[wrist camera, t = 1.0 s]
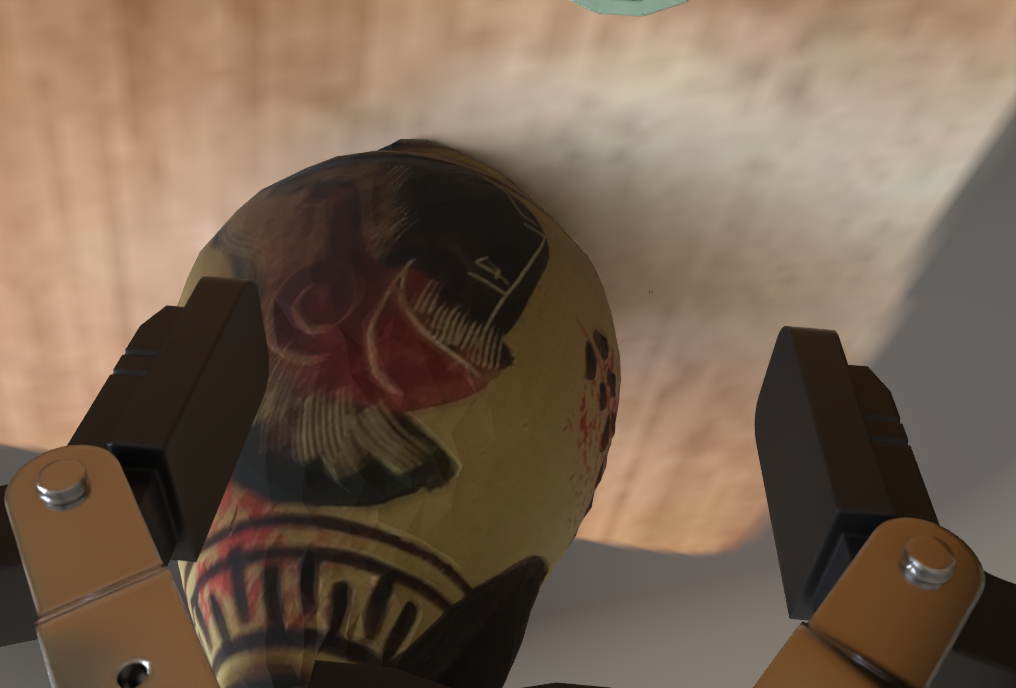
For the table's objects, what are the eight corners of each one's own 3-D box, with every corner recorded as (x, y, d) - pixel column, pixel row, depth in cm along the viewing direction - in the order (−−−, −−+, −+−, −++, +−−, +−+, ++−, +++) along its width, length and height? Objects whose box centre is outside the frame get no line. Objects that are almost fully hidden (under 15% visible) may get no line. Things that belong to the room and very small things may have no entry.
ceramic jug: (221, 328, 41) (-245, 1251, 18) (283, 13, 32) (-532, 1115, 9) (567, 435, 44) (537, 1353, 21) (719, 175, 34) (970, 1336, 12)
